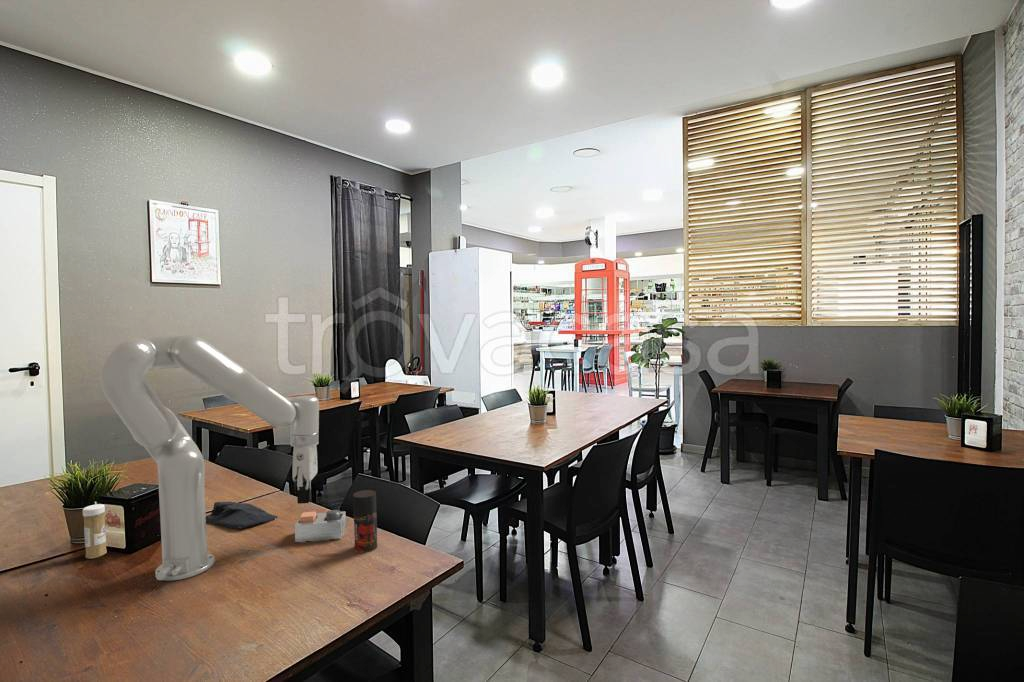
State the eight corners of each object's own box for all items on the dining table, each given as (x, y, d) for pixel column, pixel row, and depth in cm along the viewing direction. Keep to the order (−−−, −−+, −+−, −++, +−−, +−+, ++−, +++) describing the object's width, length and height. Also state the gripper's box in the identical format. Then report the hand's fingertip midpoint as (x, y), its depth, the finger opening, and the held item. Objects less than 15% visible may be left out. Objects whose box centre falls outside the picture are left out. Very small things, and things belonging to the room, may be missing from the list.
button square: (313, 533, 142) (313, 516, 142) (300, 534, 142) (299, 517, 142) (316, 528, 146) (316, 511, 146) (303, 529, 145) (303, 512, 145)
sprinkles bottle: (105, 556, 133) (103, 507, 133) (83, 561, 131) (81, 511, 130) (108, 549, 137) (105, 502, 137) (86, 554, 135) (84, 505, 134)
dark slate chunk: (233, 537, 145) (232, 521, 145) (198, 520, 158) (197, 506, 158) (282, 519, 158) (281, 504, 158) (246, 505, 170) (245, 492, 170)
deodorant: (350, 549, 135) (348, 495, 134) (366, 541, 140) (364, 488, 139) (366, 554, 132) (364, 498, 131) (382, 545, 137) (380, 491, 137)
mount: (341, 538, 142) (340, 519, 141) (295, 542, 140) (294, 523, 139) (345, 527, 149) (345, 509, 149) (302, 531, 147) (301, 512, 147)
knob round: (339, 531, 143) (338, 514, 143) (325, 532, 143) (325, 515, 143) (341, 525, 147) (341, 509, 147) (328, 526, 147) (327, 510, 146)
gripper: (312, 444, 136) (311, 511, 136) (323, 433, 151) (323, 493, 151) (283, 445, 135) (282, 512, 135) (297, 434, 149) (297, 494, 150)
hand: (303, 502), depth 143 cm, fingers closed
